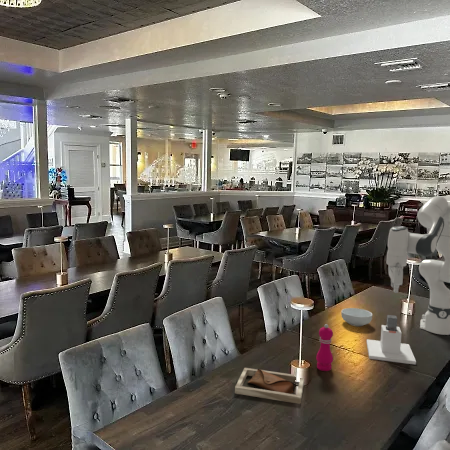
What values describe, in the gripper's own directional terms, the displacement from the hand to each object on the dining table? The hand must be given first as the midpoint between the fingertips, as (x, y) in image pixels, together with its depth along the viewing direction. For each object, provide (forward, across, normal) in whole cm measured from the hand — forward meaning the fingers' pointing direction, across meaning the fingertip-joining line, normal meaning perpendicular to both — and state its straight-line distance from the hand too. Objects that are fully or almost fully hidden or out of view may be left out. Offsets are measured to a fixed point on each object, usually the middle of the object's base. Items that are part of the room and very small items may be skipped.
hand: (394, 289), depth 195 cm
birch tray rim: (+32, -50, +50) cm, 77 cm away
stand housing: (+31, 0, 0) cm, 31 cm away
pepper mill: (+32, -26, +30) cm, 51 cm away
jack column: (+29, 0, 0) cm, 29 cm away
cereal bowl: (+31, +36, +14) cm, 50 cm away
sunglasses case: (+32, -50, +50) cm, 77 cm away
